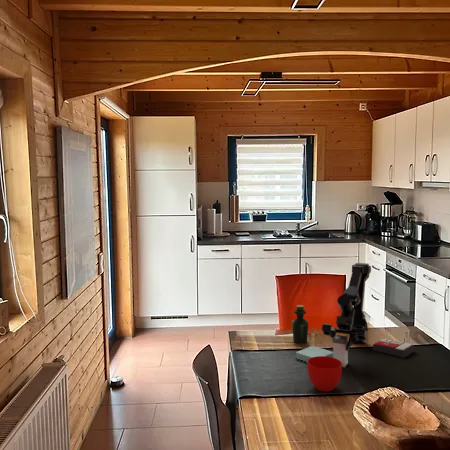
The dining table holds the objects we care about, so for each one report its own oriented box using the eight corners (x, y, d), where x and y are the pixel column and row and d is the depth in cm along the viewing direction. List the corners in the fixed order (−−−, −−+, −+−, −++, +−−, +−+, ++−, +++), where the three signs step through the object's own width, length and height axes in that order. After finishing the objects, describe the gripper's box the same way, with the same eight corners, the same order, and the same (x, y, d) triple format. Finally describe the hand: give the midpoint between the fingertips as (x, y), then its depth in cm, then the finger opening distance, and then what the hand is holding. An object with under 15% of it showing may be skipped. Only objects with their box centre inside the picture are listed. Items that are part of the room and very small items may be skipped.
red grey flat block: (383, 337, 227) (414, 343, 216) (383, 346, 227) (414, 352, 216) (372, 343, 219) (403, 349, 209) (372, 352, 219) (403, 358, 209)
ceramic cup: (344, 379, 187) (344, 354, 187) (340, 397, 172) (340, 370, 171) (311, 375, 192) (311, 351, 191) (304, 392, 176) (304, 366, 175)
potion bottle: (311, 340, 234) (311, 305, 232) (304, 345, 227) (304, 308, 225) (295, 338, 238) (295, 303, 237) (289, 342, 231) (289, 306, 230)
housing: (336, 361, 206) (336, 334, 205) (347, 363, 204) (347, 336, 203) (333, 365, 202) (333, 338, 201) (344, 367, 199) (345, 339, 198)
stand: (312, 352, 218) (312, 345, 218) (334, 358, 209) (334, 352, 209) (295, 358, 210) (295, 352, 210) (317, 366, 201) (317, 359, 201)
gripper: (322, 306, 210) (315, 337, 201) (365, 310, 201) (360, 343, 192) (327, 318, 217) (320, 349, 209) (369, 323, 209) (363, 356, 200)
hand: (340, 349), depth 202 cm, fingers closed on housing, 5 cm apart
